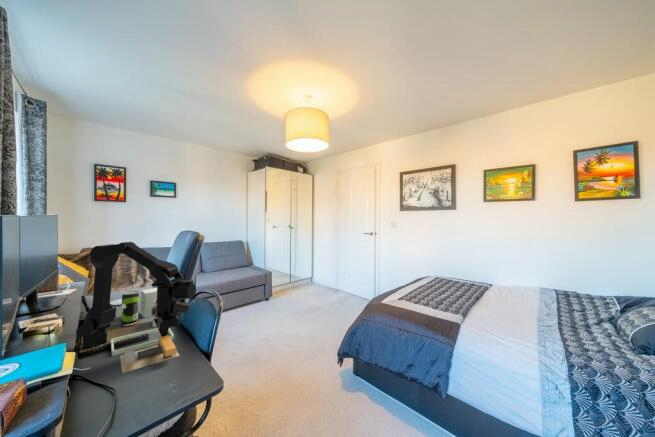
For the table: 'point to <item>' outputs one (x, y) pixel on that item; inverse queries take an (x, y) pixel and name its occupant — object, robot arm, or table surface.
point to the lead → (141, 354)
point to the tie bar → (167, 345)
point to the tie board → (145, 360)
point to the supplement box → (147, 301)
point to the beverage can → (129, 307)
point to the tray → (138, 344)
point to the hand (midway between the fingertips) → (163, 338)
